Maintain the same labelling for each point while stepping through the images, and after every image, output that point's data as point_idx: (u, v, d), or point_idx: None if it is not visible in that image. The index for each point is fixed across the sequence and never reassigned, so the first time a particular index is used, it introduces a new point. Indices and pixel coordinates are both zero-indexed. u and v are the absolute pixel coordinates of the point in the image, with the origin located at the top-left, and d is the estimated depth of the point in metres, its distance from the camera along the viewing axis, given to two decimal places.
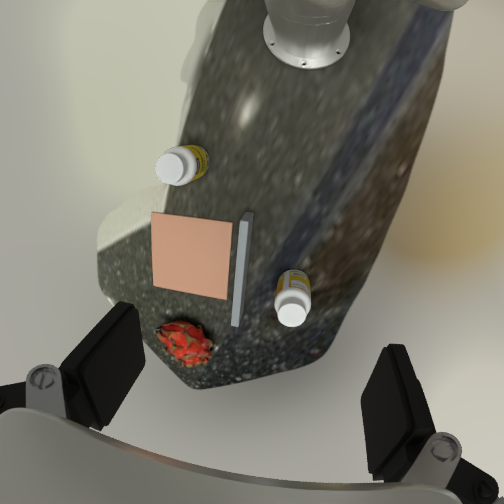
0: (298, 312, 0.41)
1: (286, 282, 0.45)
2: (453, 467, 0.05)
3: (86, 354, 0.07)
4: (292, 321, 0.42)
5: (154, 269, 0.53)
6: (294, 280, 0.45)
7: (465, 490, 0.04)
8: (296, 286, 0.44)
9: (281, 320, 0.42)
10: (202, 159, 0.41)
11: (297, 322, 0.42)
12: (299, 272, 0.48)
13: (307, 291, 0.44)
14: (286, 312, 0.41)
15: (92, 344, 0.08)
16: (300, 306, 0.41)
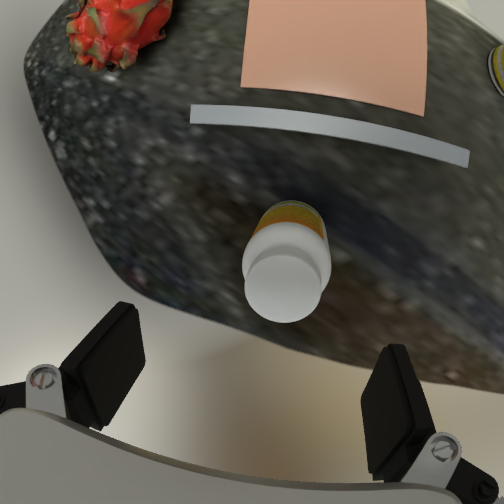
0: (294, 306, 0.15)
1: (326, 237, 0.19)
2: (453, 467, 0.05)
3: (86, 354, 0.07)
4: (263, 292, 0.15)
5: None
6: None
7: (465, 490, 0.04)
8: None
9: (264, 265, 0.15)
10: None
11: (260, 304, 0.16)
12: None
13: None
14: (292, 278, 0.15)
15: (92, 344, 0.08)
16: (311, 310, 0.15)
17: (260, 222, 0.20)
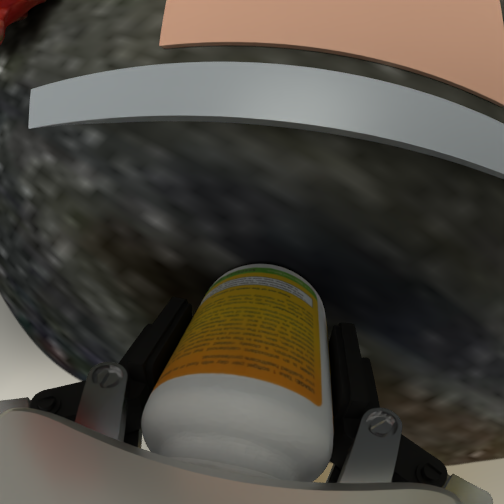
0: None
1: (326, 367, 0.08)
2: (397, 440, 0.06)
3: (152, 349, 0.08)
4: None
5: None
6: None
7: (406, 471, 0.05)
8: None
9: None
10: None
11: None
12: None
13: None
14: None
15: (156, 339, 0.09)
16: None
17: (189, 327, 0.10)
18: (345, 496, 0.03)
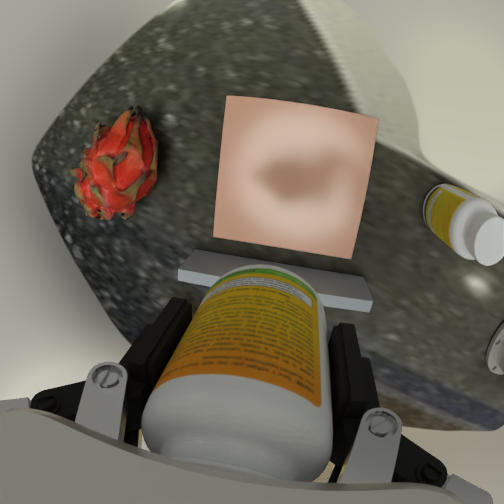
0: None
1: (326, 367, 0.08)
2: (397, 440, 0.06)
3: (152, 349, 0.08)
4: None
5: (264, 102, 0.25)
6: None
7: (406, 471, 0.05)
8: None
9: None
10: None
11: None
12: None
13: None
14: None
15: (156, 339, 0.09)
16: None
17: (189, 327, 0.10)
18: (345, 496, 0.03)
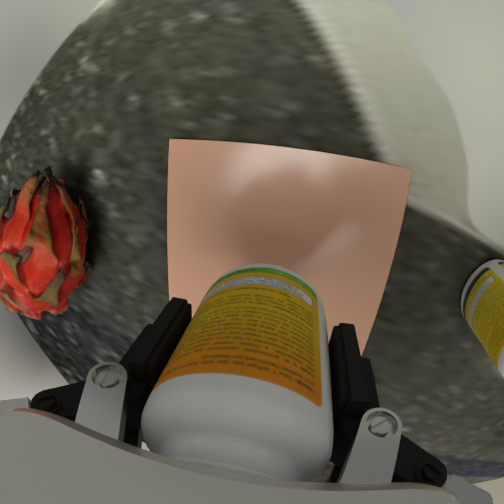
0: None
1: (326, 367, 0.08)
2: (397, 440, 0.06)
3: (152, 349, 0.08)
4: None
5: (226, 148, 0.16)
6: None
7: (406, 471, 0.05)
8: None
9: None
10: None
11: None
12: None
13: None
14: None
15: (156, 339, 0.09)
16: None
17: (189, 326, 0.10)
18: (345, 496, 0.03)
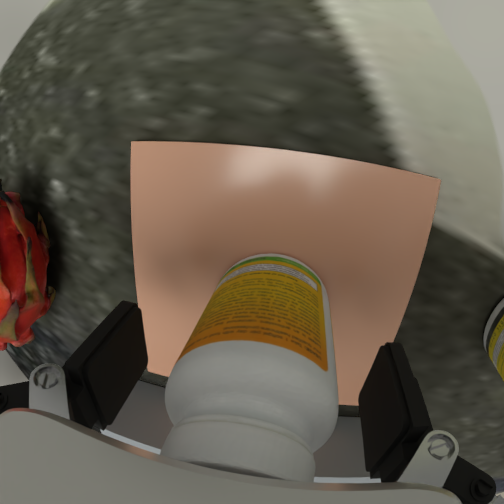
0: None
1: (330, 342, 0.10)
2: (450, 465, 0.05)
3: (90, 353, 0.08)
4: None
5: (201, 151, 0.12)
6: None
7: (462, 488, 0.04)
8: None
9: None
10: None
11: None
12: None
13: None
14: None
15: (96, 343, 0.08)
16: None
17: (207, 308, 0.11)
18: (345, 496, 0.03)
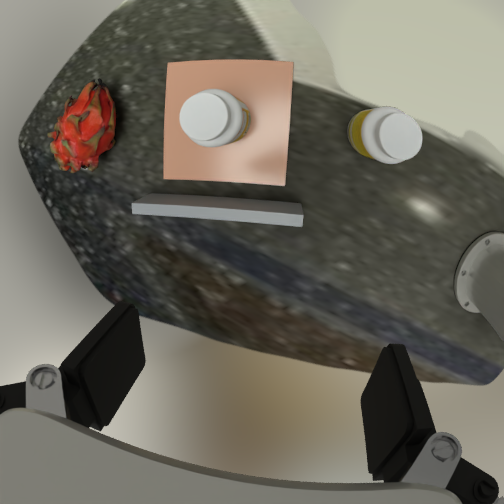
0: (211, 126, 0.22)
1: (242, 104, 0.26)
2: (453, 467, 0.05)
3: (86, 354, 0.07)
4: (191, 119, 0.22)
5: (196, 63, 0.28)
6: (246, 116, 0.26)
7: (465, 490, 0.04)
8: (243, 119, 0.25)
9: (190, 100, 0.21)
10: None
11: (190, 128, 0.22)
12: (249, 125, 0.29)
13: (234, 138, 0.26)
14: (208, 106, 0.21)
15: (92, 344, 0.08)
16: (223, 127, 0.22)
17: None
18: (345, 496, 0.03)
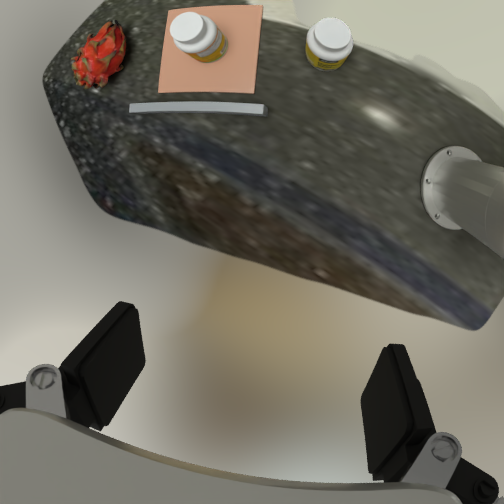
0: (191, 31, 0.26)
1: (218, 28, 0.30)
2: (453, 467, 0.05)
3: (86, 354, 0.07)
4: (177, 28, 0.26)
5: (190, 9, 0.32)
6: (221, 36, 0.30)
7: (465, 490, 0.04)
8: (217, 34, 0.29)
9: (178, 17, 0.25)
10: (332, 65, 0.31)
11: (176, 34, 0.26)
12: (226, 47, 0.33)
13: (210, 48, 0.30)
14: (190, 19, 0.25)
15: (92, 344, 0.08)
16: (199, 31, 0.26)
17: None
18: (345, 496, 0.03)
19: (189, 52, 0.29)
